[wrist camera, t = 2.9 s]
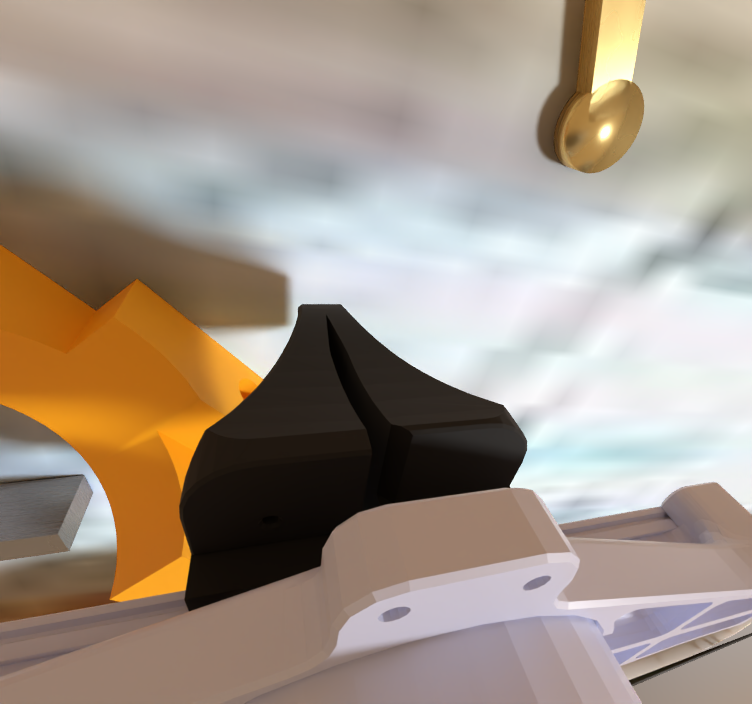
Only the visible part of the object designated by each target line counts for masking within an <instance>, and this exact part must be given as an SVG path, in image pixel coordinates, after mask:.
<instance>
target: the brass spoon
mask: <svg viewBox="0 0 752 704" xmlns="http://www.w3.org/2000/svg"><path fill="white" fill-rule="evenodd" d="M645 2H646V0H585V8H584V18H583V28H582V38H581V48H580V58H579V68H578V77H577V87H576V93H575V94H574V95H573V96H572V97H571V98H570V99H569V101H568V102H567V104H566V105H565V107H564V108H563V110H562V112H561V114H560V116H559V118H558V121H557V124H556V128H555V133H554V149H555V153H556V155H557V157H558V159H559V161H560V162H561V163H562V164H564V165H565V166H567V167H569V168H572V169H575V170H578V171H581V172H585V173H596V172H600V171H602V170H605V169H607V168H609V167H610V166H612V165H613V164H614V163H616V162H617V161H618V160H619V159H620V158H621V157H622V156H623V155H624V154H625V153H626V152H627V150H628V149H629V148H630V146H631V145H632V143H633V142H634V140H635V138H636V136H637V134H638V132H639V129H640V126H641V123H642V119H643V114H644V100H643V95H642V93H641V91H640V89H639V87H638V86H637V85H636V84H635V83H633V82H632V76H633V70H634V65H635V59H636V53H637V48H638V42H639V36H640V30H641V25H642V19H643V13H644V7H645Z"/></svg>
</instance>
